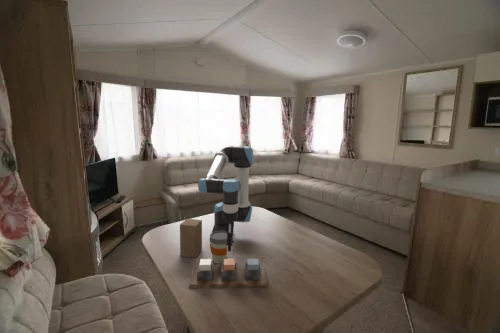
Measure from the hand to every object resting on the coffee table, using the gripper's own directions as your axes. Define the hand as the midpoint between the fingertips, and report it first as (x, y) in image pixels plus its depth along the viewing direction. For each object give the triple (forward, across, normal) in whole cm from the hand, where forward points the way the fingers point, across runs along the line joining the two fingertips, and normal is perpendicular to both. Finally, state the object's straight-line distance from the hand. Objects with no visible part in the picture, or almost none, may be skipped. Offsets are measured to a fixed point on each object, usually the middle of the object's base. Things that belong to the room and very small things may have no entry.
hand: (229, 255), depth 126 cm
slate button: (+8, 0, +12) cm, 15 cm away
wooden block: (+13, -27, -24) cm, 38 cm away
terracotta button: (+8, 0, 0) cm, 8 cm away
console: (+13, 0, 0) cm, 13 cm away
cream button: (+8, 0, -12) cm, 15 cm away
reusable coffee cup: (+13, -20, -6) cm, 24 cm away
